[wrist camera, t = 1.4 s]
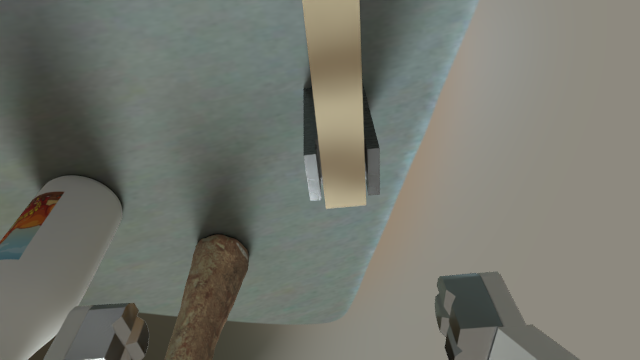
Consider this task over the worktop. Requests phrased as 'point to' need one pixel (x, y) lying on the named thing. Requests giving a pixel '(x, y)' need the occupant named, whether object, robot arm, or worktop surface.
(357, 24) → the rail
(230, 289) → the brown stone cone
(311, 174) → the post
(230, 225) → the worktop surface
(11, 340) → the milk bottle
